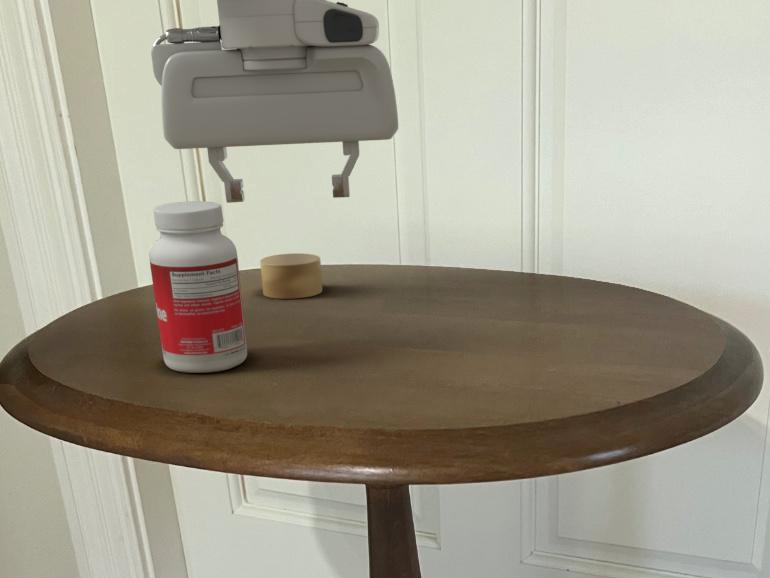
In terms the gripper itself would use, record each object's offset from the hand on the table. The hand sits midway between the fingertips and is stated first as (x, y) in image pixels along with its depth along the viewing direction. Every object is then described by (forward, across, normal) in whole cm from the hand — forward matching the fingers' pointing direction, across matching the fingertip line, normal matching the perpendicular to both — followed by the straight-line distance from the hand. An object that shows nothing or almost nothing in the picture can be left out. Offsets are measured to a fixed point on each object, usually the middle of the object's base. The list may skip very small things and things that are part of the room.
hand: (288, 199), depth 97 cm
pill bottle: (+8, -5, -23) cm, 25 cm away
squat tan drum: (+8, 0, 0) cm, 8 cm away
